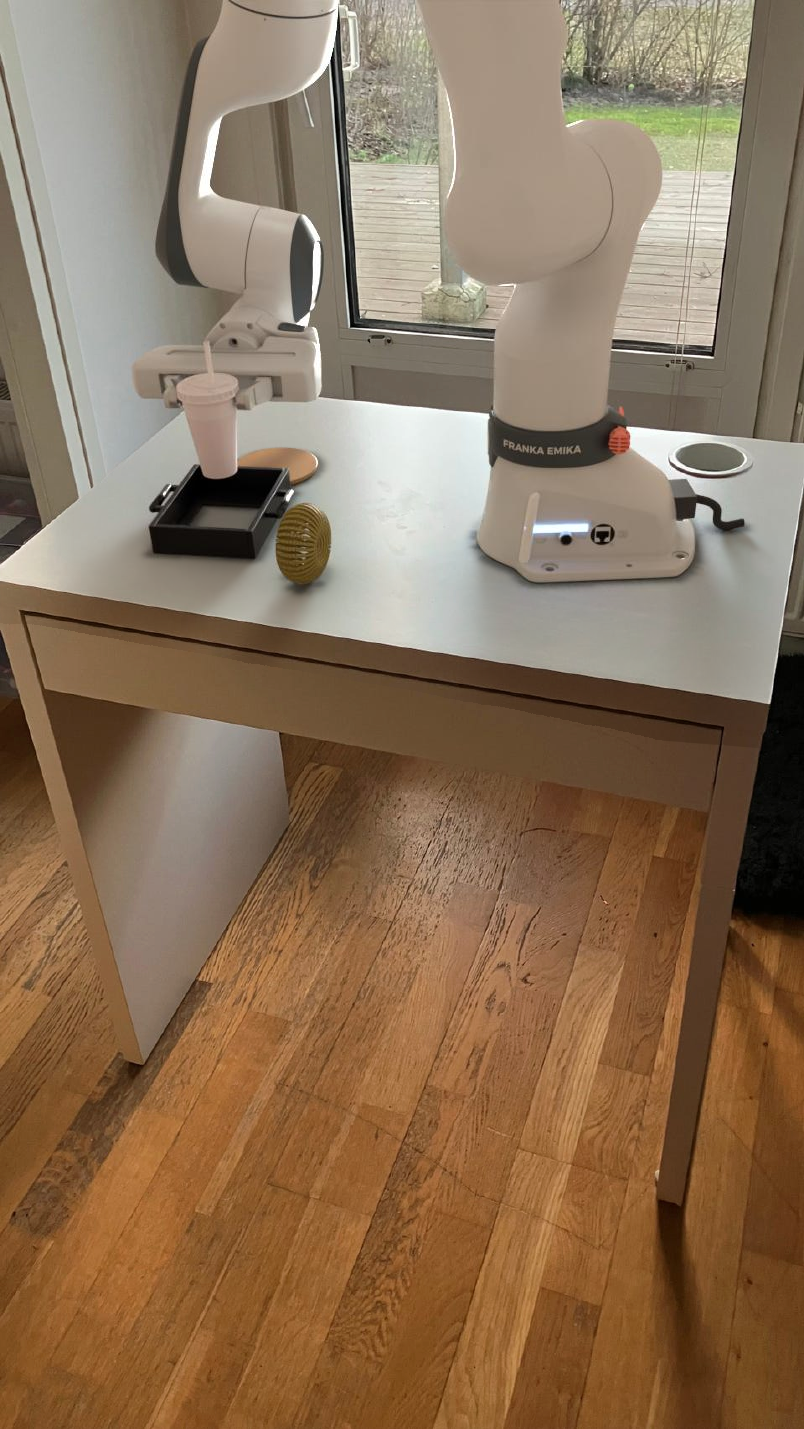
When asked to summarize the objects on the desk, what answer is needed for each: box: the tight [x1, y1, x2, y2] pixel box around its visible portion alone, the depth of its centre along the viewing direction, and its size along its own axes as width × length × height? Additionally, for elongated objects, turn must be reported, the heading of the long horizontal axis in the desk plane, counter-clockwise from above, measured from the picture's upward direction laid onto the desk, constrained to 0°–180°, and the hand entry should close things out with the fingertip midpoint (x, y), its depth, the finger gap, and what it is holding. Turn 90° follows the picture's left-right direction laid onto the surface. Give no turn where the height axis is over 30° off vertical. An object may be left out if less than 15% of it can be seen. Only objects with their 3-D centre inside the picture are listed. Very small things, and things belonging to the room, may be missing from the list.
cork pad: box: [237, 447, 319, 485], centre depth 141 cm, size 10×10×1 cm
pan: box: [148, 463, 295, 560], centre depth 129 cm, size 15×15×3 cm
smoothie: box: [176, 340, 239, 479], centre depth 122 cm, size 6×6×14 cm
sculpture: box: [275, 502, 332, 585], centre depth 117 cm, size 8×4×8 cm, turn 162°
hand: (207, 402), depth 121 cm, fingers closed on smoothie, 6 cm apart
